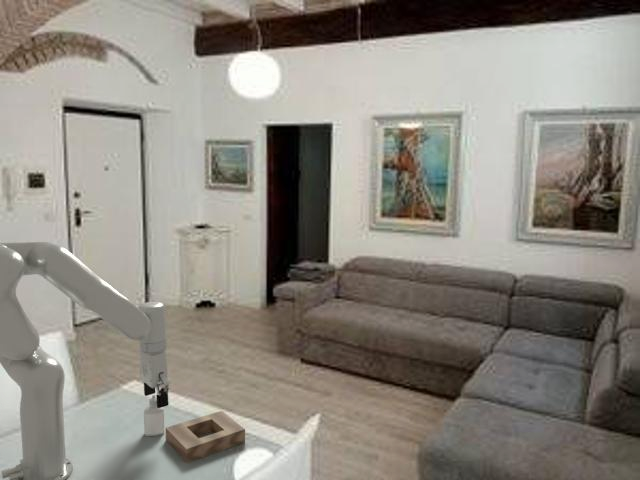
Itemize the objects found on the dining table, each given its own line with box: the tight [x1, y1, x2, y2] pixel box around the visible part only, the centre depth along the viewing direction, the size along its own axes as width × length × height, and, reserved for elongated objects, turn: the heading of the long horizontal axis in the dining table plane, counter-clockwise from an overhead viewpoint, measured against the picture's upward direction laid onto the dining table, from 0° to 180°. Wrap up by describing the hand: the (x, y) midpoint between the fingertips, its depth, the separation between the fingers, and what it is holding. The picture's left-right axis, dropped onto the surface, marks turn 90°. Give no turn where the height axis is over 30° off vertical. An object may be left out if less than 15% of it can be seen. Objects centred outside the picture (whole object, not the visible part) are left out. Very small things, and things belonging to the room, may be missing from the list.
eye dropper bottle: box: [143, 393, 165, 437], centre depth 154 cm, size 4×6×12 cm
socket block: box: [165, 410, 246, 464], centre depth 151 cm, size 18×14×4 cm
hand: (156, 400), depth 154 cm, fingers open, 9 cm apart
